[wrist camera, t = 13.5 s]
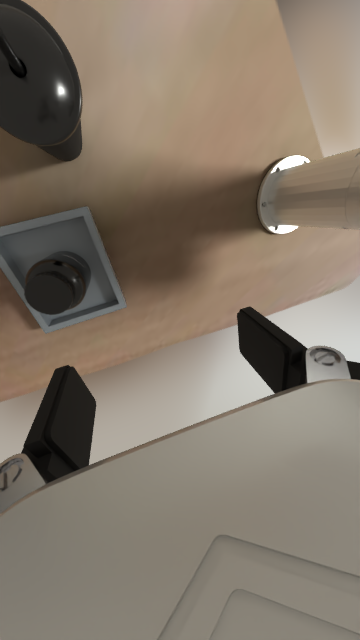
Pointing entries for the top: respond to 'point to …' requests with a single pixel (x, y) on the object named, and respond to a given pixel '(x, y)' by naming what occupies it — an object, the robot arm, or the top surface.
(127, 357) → the top surface
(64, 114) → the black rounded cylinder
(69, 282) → the supplement bottle
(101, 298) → the tray
